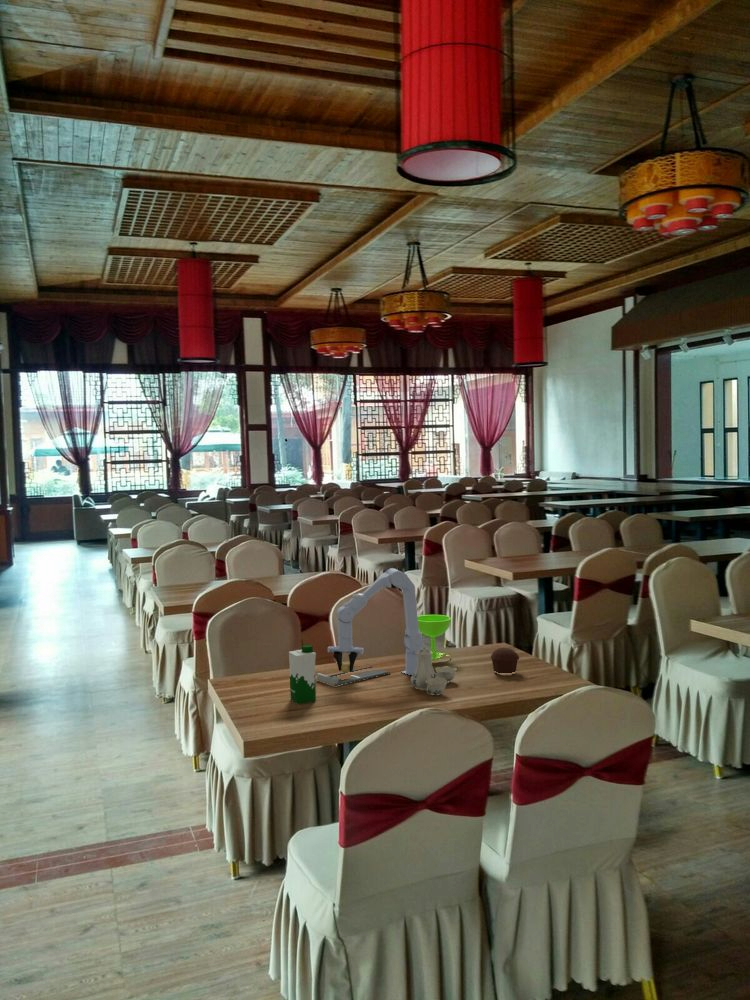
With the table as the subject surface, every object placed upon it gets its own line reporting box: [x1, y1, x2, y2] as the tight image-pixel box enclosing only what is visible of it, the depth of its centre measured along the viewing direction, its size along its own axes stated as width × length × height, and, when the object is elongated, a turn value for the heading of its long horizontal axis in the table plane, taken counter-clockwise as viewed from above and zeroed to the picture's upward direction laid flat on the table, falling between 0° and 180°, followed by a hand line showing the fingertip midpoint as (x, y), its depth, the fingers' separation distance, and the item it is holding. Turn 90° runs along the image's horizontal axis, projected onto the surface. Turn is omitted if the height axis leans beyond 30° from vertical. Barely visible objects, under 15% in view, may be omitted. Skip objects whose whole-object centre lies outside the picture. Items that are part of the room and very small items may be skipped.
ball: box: [341, 662, 350, 673], centre depth 325 cm, size 4×4×4 cm
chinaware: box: [410, 646, 458, 696], centre depth 310 cm, size 28×17×17 cm, turn 168°
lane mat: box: [316, 665, 391, 687], centre depth 327 cm, size 12×28×3 cm, turn 129°
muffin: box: [490, 647, 520, 673], centre depth 330 cm, size 12×11×10 cm
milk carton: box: [288, 644, 317, 705], centre depth 297 cm, size 9×9×20 cm
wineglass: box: [418, 614, 452, 661], centre depth 355 cm, size 16×16×18 cm
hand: (345, 670), depth 325 cm, fingers closed on ball, 4 cm apart
